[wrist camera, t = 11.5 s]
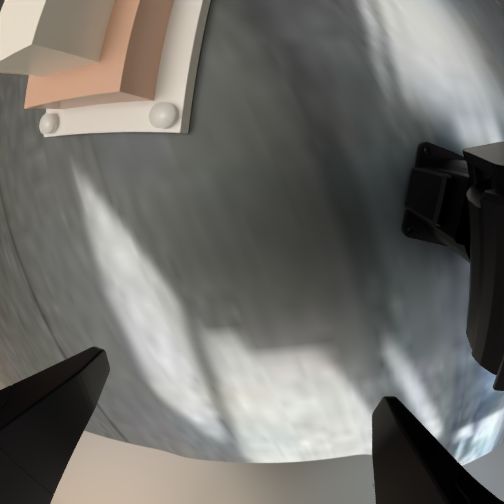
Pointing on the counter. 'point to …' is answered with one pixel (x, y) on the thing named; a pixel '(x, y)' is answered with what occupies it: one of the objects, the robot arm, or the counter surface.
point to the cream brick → (51, 35)
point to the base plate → (167, 89)
